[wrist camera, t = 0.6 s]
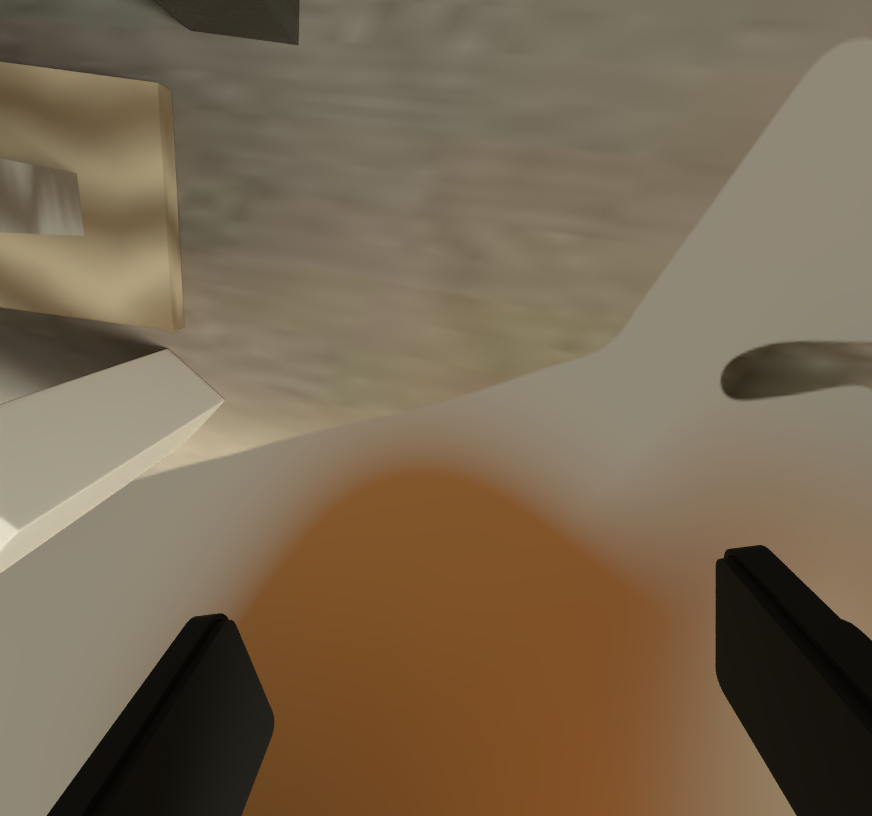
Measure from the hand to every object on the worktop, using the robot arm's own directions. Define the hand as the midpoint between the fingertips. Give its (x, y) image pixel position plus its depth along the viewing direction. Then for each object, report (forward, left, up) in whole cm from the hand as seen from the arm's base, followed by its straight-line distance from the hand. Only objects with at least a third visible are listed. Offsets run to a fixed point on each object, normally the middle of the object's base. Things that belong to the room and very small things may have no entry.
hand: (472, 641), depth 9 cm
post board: (-7, -30, -28) cm, 42 cm away
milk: (+7, -23, -28) cm, 37 cm away
